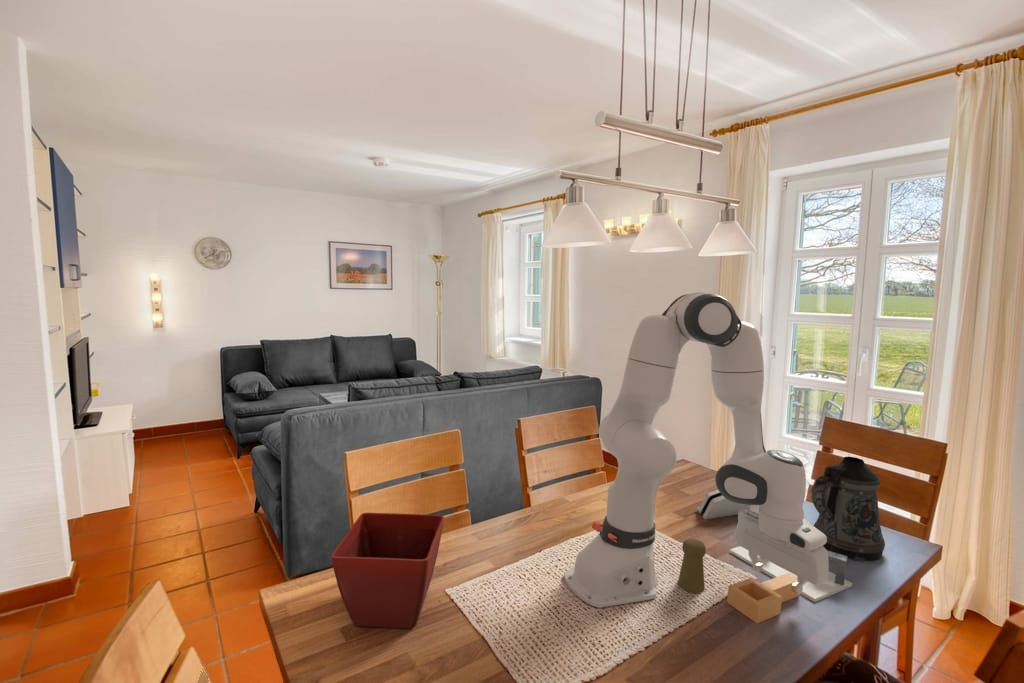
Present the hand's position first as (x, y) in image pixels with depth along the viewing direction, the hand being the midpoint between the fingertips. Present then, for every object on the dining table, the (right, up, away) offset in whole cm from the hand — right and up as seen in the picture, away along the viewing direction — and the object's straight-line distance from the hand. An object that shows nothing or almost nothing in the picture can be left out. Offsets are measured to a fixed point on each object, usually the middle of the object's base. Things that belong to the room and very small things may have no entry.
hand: (776, 581), depth 113 cm
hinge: (+6, 0, +42) cm, 43 cm away
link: (-2, -4, -1) cm, 5 cm away
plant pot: (-86, -3, -7) cm, 86 cm away
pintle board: (+10, -3, +13) cm, 16 cm away
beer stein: (+32, -3, +24) cm, 40 cm away
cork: (-18, -3, +5) cm, 19 cm away
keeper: (+17, -4, +8) cm, 19 cm away
